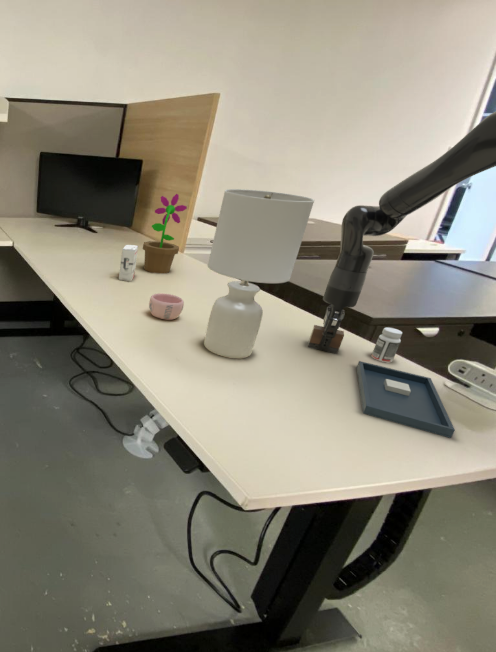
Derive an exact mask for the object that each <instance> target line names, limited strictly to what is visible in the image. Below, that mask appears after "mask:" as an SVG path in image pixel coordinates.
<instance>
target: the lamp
mask: <svg viewBox="0 0 496 652" xmlns="http://www.w3.org/2000/svg"><path fill="white" fill-rule="evenodd" d="M314 203H315V199H313V198H312V197H308V196H303V195H297V194H291V193H285V192H277V191H268V190H257V189H245V188H244V189H241V188H229V189H228V188H227V189H225V190H224V193H223V197H222V202H221V205H220V210H219V215H218V219H217V223H216V228H215V232H214V236H213V240H212V245H211V249H210V252H209V259H208V261H207V268H208V269H209V270H210V271H212V272H214V273H216V274H218V275H221V276H225V277H226V278H227V277H228V278H231V279H235V280H232V281H229V282H227V288H228V293H227V294H226V295H222V296H220V297H218V298H216V300H214V302H213V305H212V307H211V310H210V314H209V317H208V321H207V324H206V325H207V326H206V329H205V335H204V341H203V345H204V347H205V349H206V350H208V352H211V353H213V354H215V355H216V356H217V355H218V356H219V357H224V358H229V359H246V358H248V357H250V356H251V355H252V352H253V349H254V346H255V344H256V340H257V338H258V334H259V331H260V327H261V324H262V321H263V314H264V313H263V311H264V310H263V307H262V306H261V304H259V303H258V302H257V301H256V299H255V296H256V295H257V294H258V293H259V292H260V291H261V288H260V287H259V286H258V285H257V284H254V283H258V284H259V283H260V284H284V283H287V282H289V281H290V280H291V277H292V274H293V272H294V271H293V270H294V267H295V264H296V261H297V258H298V255H299V251H300V249H301V246H302V242H303V239H304V235H305V233H306V229H307V226H308V222H309V219H310V216H311V212H312V210H313V206H314Z"/></svg>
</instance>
